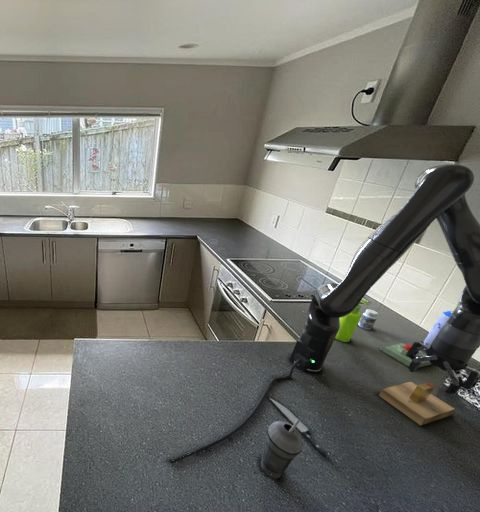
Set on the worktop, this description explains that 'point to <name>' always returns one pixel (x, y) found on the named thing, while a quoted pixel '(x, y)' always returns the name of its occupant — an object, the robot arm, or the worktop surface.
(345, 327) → the soap dispenser
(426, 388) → the lock knob
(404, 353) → the box
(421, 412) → the lock plate
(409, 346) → the alarm button
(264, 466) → the beverage cup
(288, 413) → the chef's knife
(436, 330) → the aerosol can
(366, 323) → the pill bottle
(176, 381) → the worktop surface
